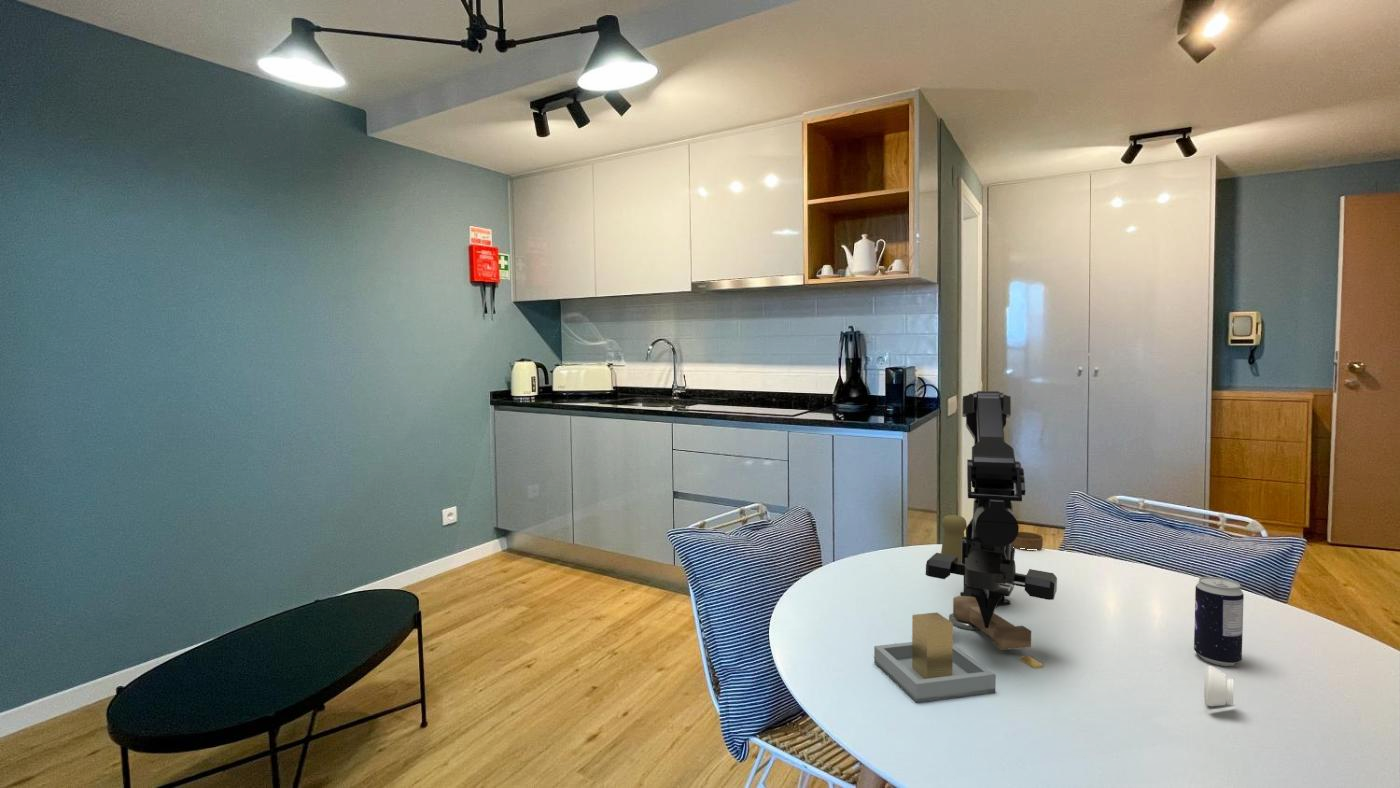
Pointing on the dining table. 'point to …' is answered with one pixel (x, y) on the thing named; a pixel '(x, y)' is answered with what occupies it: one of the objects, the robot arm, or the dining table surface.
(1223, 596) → the beverage can
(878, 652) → the tray
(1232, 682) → the white jar
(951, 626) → the wooden block
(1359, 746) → the dining table surface
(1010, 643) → the crank
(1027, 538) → the brown round basket
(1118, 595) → the dining table surface
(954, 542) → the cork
